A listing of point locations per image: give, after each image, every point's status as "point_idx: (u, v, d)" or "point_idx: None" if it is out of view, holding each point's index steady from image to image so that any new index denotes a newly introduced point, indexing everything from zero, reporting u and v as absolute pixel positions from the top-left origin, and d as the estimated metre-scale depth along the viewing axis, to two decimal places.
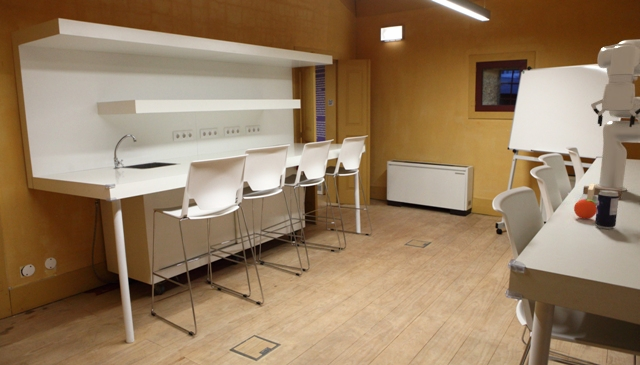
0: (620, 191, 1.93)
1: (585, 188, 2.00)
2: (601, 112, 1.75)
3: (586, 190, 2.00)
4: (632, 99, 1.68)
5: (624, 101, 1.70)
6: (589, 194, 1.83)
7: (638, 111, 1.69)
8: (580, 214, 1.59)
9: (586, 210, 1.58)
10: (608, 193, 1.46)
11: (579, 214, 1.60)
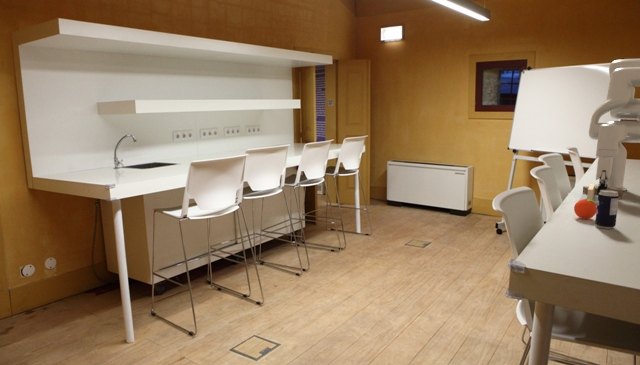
0: (621, 190, 1.95)
1: (587, 189, 1.98)
2: (606, 184, 1.94)
3: None
4: None
5: None
6: (589, 194, 1.83)
7: None
8: (580, 214, 1.59)
9: (586, 210, 1.58)
10: (608, 193, 1.46)
11: (579, 214, 1.60)
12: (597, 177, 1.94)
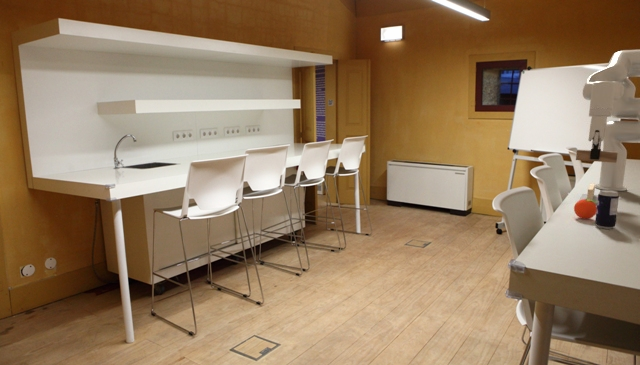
0: (615, 153, 1.80)
1: (578, 151, 1.87)
2: (599, 146, 1.82)
3: (579, 153, 1.87)
4: None
5: None
6: (589, 194, 1.83)
7: None
8: (580, 214, 1.59)
9: (586, 210, 1.58)
10: (608, 193, 1.46)
11: (579, 214, 1.60)
12: (590, 138, 1.82)
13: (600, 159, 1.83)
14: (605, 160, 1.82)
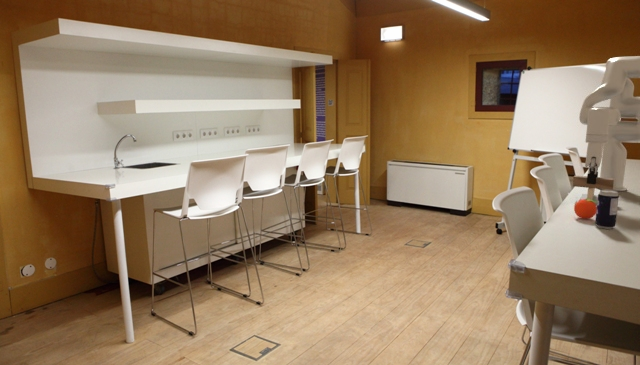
0: (612, 181, 1.82)
1: (575, 178, 1.89)
2: (596, 171, 1.82)
3: (576, 179, 1.89)
4: None
5: (601, 158, 1.86)
6: (589, 194, 1.83)
7: None
8: (580, 214, 1.59)
9: (586, 210, 1.58)
10: (608, 193, 1.46)
11: (579, 214, 1.60)
12: (586, 164, 1.83)
13: (596, 186, 1.85)
14: (601, 187, 1.84)
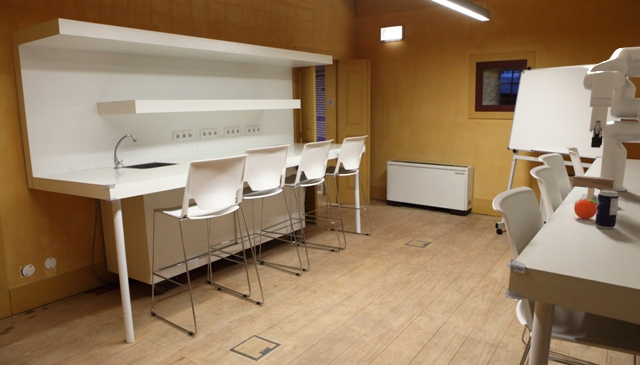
0: (612, 181, 1.82)
1: (575, 178, 1.89)
2: (600, 134, 1.80)
3: (576, 179, 1.89)
4: None
5: None
6: (589, 194, 1.83)
7: None
8: (580, 214, 1.59)
9: (586, 210, 1.58)
10: (608, 193, 1.46)
11: (579, 214, 1.60)
12: (591, 129, 1.81)
13: (596, 186, 1.85)
14: (601, 187, 1.84)
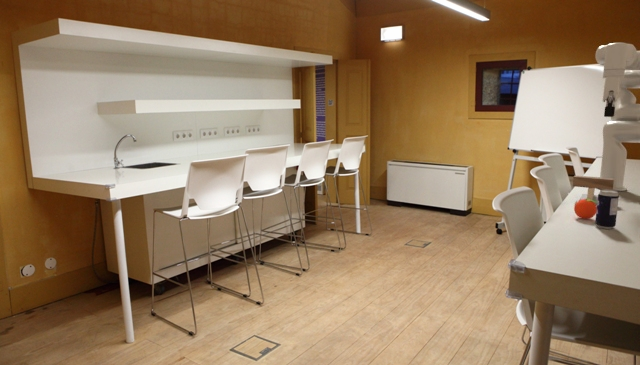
0: (612, 181, 1.82)
1: (575, 178, 1.89)
2: (613, 103, 1.86)
3: (576, 179, 1.89)
4: None
5: None
6: (589, 194, 1.83)
7: None
8: (580, 214, 1.59)
9: (586, 210, 1.58)
10: (608, 193, 1.46)
11: (579, 214, 1.60)
12: (604, 98, 1.88)
13: (596, 186, 1.85)
14: (601, 187, 1.84)
